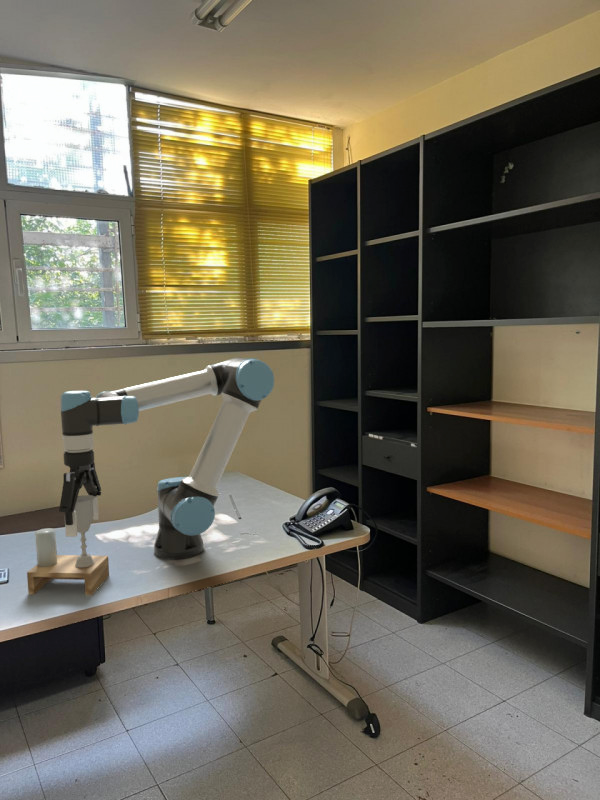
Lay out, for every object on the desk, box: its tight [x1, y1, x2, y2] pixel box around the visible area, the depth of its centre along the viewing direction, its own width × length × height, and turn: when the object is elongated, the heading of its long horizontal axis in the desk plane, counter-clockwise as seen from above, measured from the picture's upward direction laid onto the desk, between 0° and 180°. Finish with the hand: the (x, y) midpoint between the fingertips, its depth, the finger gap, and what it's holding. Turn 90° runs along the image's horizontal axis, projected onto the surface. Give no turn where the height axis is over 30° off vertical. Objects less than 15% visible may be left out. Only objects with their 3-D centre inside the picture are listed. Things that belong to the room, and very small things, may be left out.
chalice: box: [74, 494, 95, 568], centre depth 158 cm, size 7×7×18 cm
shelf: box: [26, 554, 110, 596], centre depth 160 cm, size 17×12×6 cm
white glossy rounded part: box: [34, 527, 58, 567], centre depth 160 cm, size 5×5×9 cm
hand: (83, 527), depth 158 cm, fingers open, 13 cm apart
